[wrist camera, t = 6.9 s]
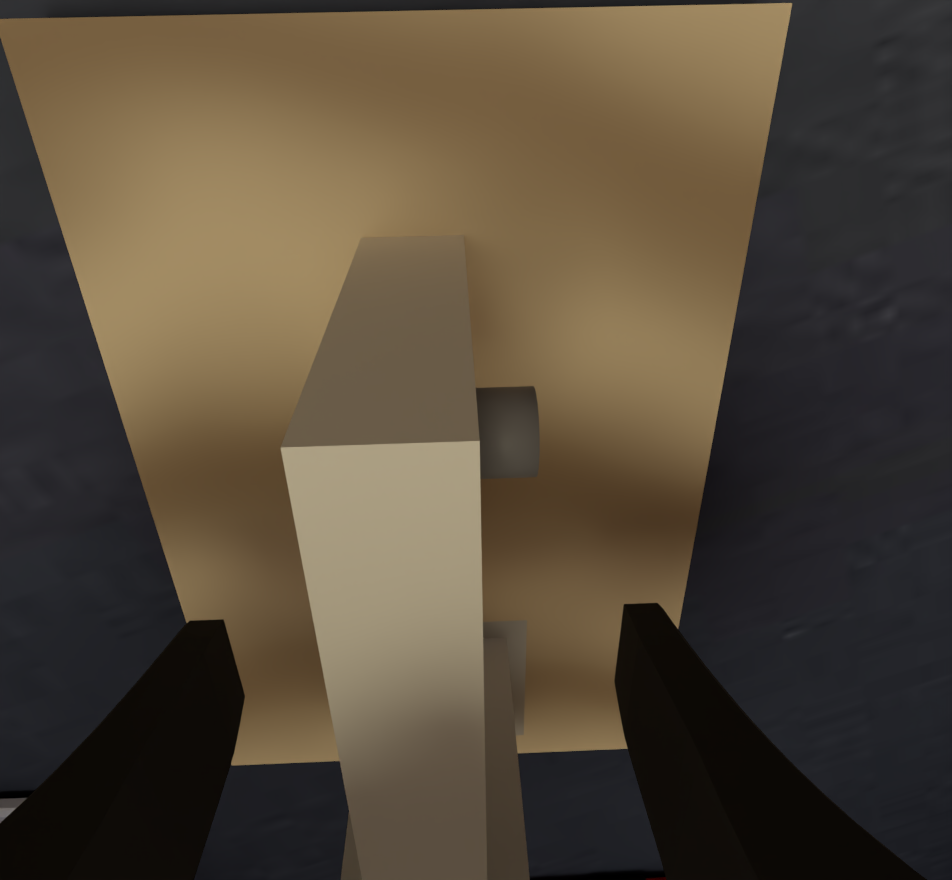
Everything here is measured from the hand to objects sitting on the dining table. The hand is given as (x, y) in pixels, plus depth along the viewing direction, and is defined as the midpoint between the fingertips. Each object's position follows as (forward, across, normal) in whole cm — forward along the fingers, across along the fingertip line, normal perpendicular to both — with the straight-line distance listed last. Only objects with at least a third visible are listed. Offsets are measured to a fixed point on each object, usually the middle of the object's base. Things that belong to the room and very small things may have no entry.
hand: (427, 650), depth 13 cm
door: (+3, 0, 0) cm, 3 cm away
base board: (+5, 0, -1) cm, 5 cm away
